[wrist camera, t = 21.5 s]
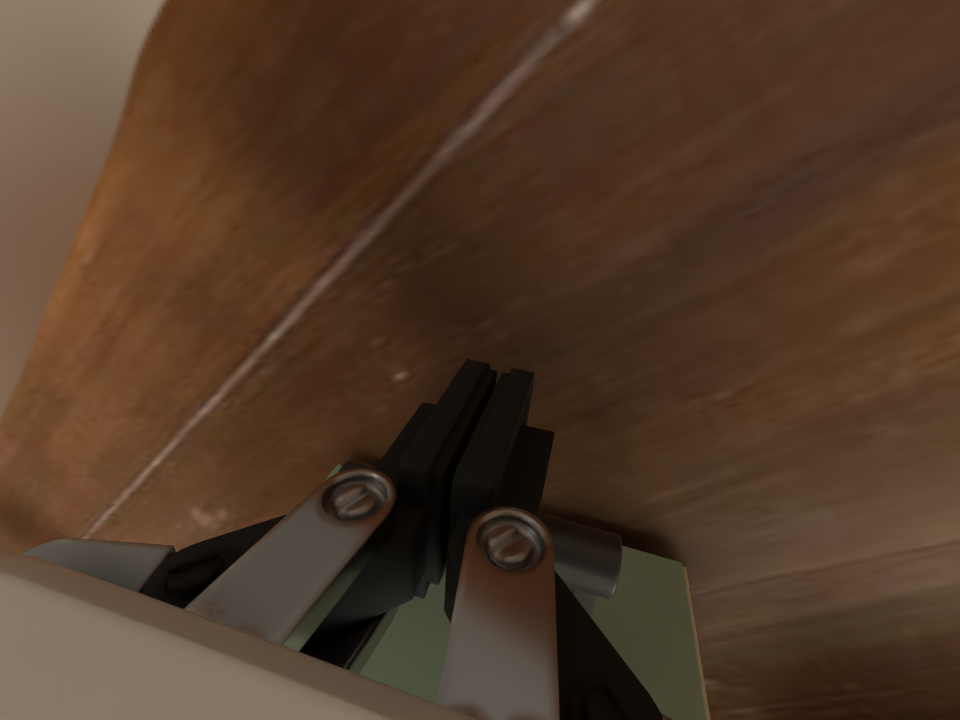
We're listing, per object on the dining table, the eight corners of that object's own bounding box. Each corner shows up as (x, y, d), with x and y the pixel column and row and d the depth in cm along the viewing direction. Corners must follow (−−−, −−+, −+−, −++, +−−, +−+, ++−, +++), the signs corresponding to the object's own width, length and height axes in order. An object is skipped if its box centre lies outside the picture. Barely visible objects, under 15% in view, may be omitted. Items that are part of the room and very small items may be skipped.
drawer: (329, 359, 16) (132, 508, 9) (734, 454, 13) (847, 756, 7) (353, 658, 25) (263, 835, 18) (593, 750, 22) (583, 995, 16)
